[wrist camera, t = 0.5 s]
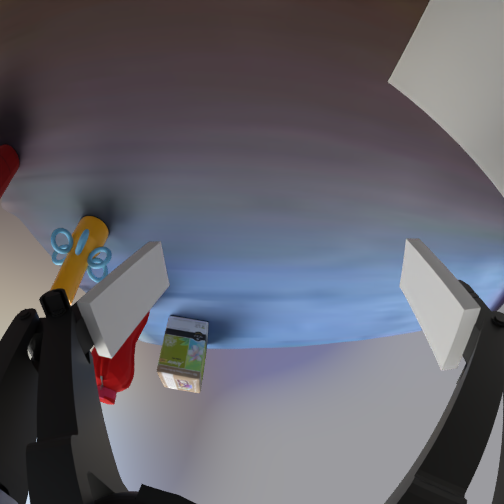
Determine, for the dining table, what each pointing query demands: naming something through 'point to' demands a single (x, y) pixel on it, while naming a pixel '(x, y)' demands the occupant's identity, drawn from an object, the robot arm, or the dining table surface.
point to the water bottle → (117, 367)
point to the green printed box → (183, 354)
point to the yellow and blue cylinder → (80, 254)
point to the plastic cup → (7, 166)
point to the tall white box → (460, 76)
